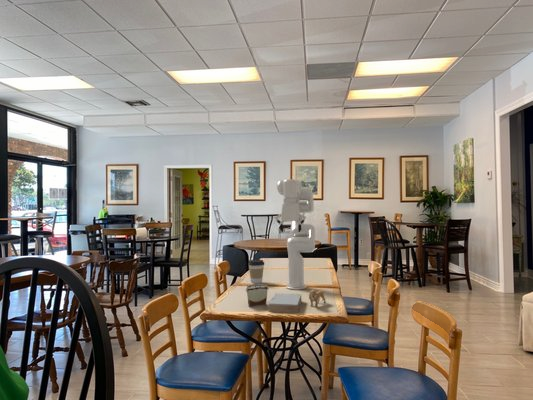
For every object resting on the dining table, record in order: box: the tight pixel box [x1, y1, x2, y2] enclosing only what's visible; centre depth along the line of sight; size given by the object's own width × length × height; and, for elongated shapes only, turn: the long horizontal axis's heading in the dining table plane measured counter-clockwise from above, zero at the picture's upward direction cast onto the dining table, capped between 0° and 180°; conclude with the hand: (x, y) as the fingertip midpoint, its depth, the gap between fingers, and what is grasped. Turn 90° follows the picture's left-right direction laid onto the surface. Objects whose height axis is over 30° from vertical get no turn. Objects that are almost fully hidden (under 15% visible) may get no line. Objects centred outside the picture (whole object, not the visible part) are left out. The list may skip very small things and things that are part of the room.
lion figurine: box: [308, 289, 327, 308], centre depth 178 cm, size 15×5×9 cm, turn 149°
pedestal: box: [268, 292, 302, 314], centre depth 177 cm, size 20×14×4 cm
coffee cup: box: [247, 258, 265, 285], centre depth 232 cm, size 11×11×15 cm
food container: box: [245, 283, 270, 308], centre depth 181 cm, size 12×6×10 cm, turn 111°
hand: (290, 231), depth 194 cm, fingers open, 9 cm apart
